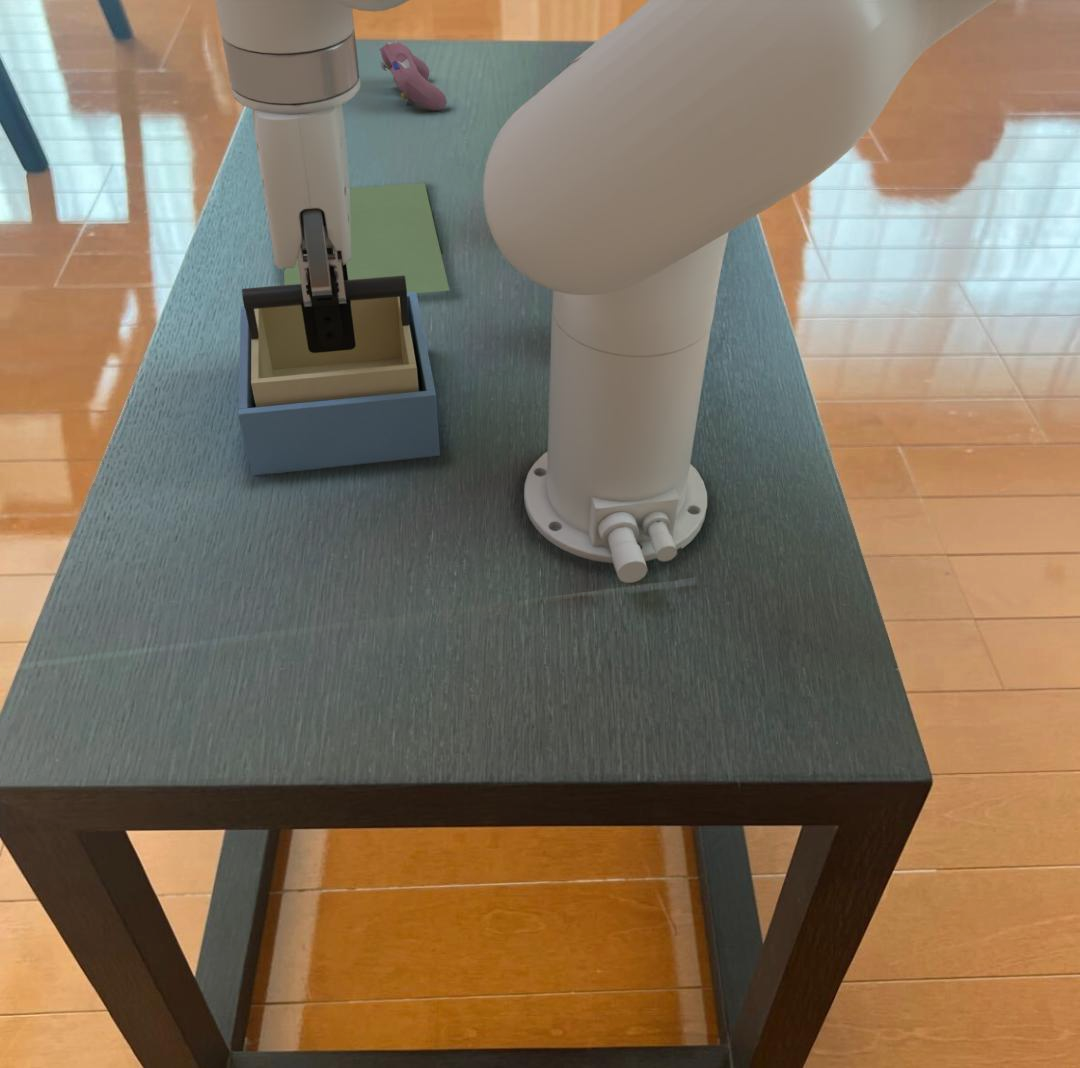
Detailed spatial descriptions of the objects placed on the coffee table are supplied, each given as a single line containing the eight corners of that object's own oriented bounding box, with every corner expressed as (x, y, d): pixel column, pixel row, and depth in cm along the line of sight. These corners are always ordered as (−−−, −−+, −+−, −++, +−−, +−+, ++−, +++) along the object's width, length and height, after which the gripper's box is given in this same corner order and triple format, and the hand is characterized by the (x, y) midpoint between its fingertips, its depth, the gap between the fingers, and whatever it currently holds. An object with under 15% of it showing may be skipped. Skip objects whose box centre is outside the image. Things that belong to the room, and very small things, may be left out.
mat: (450, 296, 93) (449, 290, 92) (285, 310, 91) (284, 304, 90) (425, 188, 107) (424, 182, 106) (282, 198, 105) (281, 192, 104)
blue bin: (440, 461, 77) (436, 394, 73) (253, 481, 75) (238, 414, 71) (421, 355, 86) (416, 291, 82) (254, 371, 85) (240, 306, 80)
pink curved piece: (398, 94, 126) (366, 42, 121) (431, 73, 126) (400, 19, 121) (416, 129, 120) (384, 75, 115) (451, 107, 119) (420, 52, 114)
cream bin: (422, 447, 77) (413, 321, 70) (268, 463, 76) (240, 336, 68) (408, 358, 85) (398, 236, 78) (267, 372, 84) (242, 248, 76)
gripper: (230, 14, 68) (275, 269, 81) (224, 129, 56) (277, 405, 69) (349, 9, 69) (375, 261, 82) (368, 120, 57) (394, 394, 70)
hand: (330, 324), depth 75 cm, fingers open, 4 cm apart
